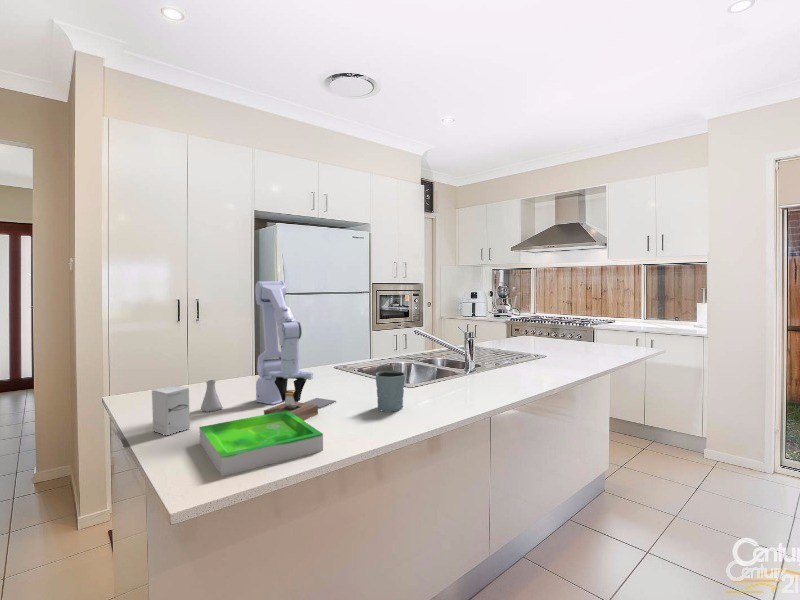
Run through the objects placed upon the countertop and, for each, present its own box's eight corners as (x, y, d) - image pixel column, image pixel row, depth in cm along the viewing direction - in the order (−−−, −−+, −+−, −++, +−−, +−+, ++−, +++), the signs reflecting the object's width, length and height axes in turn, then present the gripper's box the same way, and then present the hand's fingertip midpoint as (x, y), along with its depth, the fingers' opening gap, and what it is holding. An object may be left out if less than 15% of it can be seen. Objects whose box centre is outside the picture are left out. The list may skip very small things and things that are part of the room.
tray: (200, 444, 119) (199, 427, 118) (288, 426, 133) (287, 410, 133) (221, 478, 98) (221, 457, 98) (323, 452, 113) (322, 433, 112)
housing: (264, 419, 138) (263, 410, 138) (290, 409, 149) (290, 400, 149) (292, 425, 132) (292, 415, 132) (317, 414, 143) (317, 405, 143)
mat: (300, 405, 154) (300, 404, 154) (316, 398, 162) (316, 397, 162) (320, 408, 150) (320, 407, 149) (336, 401, 157) (336, 400, 157)
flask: (226, 408, 150) (225, 380, 150) (205, 413, 145) (204, 384, 145) (217, 405, 155) (216, 377, 155) (196, 409, 150) (195, 381, 149)
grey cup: (370, 408, 149) (369, 373, 149) (390, 402, 156) (390, 369, 156) (391, 414, 142) (390, 378, 142) (411, 407, 150) (411, 373, 149)
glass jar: (282, 414, 139) (282, 392, 139) (288, 410, 143) (287, 389, 143) (294, 414, 138) (294, 393, 138) (299, 411, 142) (299, 390, 142)
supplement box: (166, 436, 124) (165, 393, 123) (152, 432, 128) (150, 389, 127) (190, 429, 130) (189, 387, 129) (176, 425, 134) (175, 384, 133)
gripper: (263, 360, 137) (264, 403, 138) (306, 361, 135) (307, 405, 135) (273, 356, 144) (274, 397, 145) (315, 357, 142) (315, 398, 142)
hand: (291, 400), depth 140 cm, fingers closed on glass jar, 4 cm apart
